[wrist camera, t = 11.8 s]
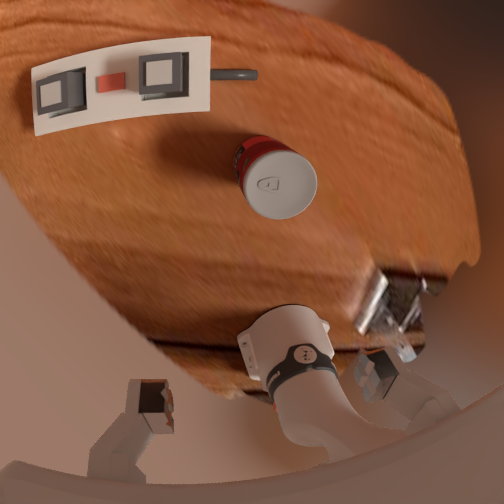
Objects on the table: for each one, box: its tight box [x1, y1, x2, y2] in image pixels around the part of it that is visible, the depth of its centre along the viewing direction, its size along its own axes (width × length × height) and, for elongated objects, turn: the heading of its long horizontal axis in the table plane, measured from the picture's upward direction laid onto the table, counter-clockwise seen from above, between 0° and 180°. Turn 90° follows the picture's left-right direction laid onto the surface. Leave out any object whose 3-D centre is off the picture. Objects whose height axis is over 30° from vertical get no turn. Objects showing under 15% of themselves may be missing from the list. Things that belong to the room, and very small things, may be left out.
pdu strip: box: [31, 36, 258, 136], centre depth 27 cm, size 9×28×9 cm, turn 89°
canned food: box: [232, 136, 317, 219], centre depth 35 cm, size 8×8×11 cm
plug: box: [139, 52, 184, 95], centre depth 26 cm, size 4×4×8 cm
